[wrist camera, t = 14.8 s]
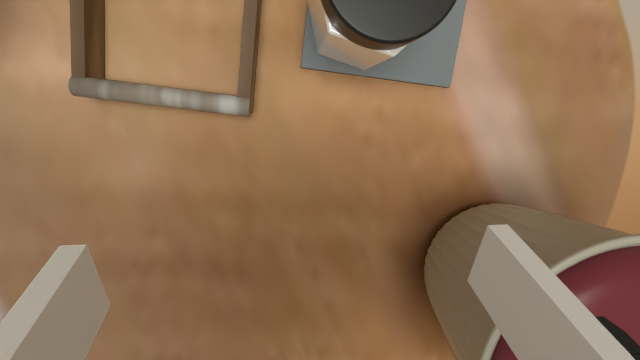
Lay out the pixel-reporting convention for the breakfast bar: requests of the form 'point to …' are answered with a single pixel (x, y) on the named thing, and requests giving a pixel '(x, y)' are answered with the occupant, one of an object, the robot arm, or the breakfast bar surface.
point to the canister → (554, 250)
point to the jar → (372, 27)
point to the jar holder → (92, 84)
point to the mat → (402, 55)
